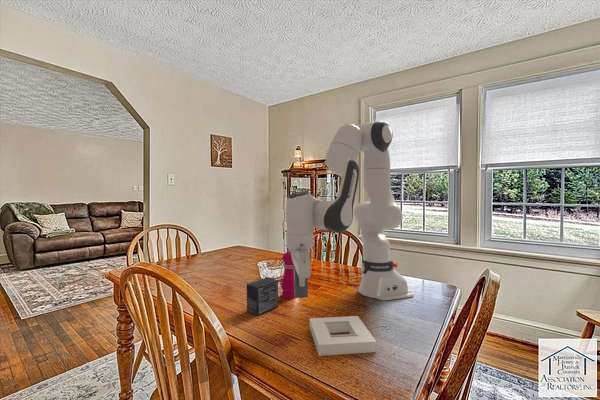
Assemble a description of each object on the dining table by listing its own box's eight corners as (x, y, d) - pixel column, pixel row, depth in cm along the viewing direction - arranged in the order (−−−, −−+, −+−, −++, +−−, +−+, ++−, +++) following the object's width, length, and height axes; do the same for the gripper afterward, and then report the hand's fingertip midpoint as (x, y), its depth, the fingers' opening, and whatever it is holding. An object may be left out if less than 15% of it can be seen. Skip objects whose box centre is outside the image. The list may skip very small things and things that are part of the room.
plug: (306, 292, 100) (305, 266, 99) (307, 297, 96) (307, 269, 95) (294, 293, 99) (293, 267, 99) (295, 298, 95) (295, 270, 95)
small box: (266, 303, 115) (266, 276, 115) (279, 307, 111) (279, 279, 111) (245, 311, 107) (245, 283, 107) (258, 316, 103) (258, 287, 103)
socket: (357, 324, 97) (357, 315, 97) (376, 352, 81) (376, 340, 81) (309, 327, 95) (309, 317, 95) (318, 355, 79) (318, 343, 79)
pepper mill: (296, 300, 118) (296, 250, 117) (278, 298, 120) (278, 249, 119) (299, 293, 125) (300, 246, 124) (283, 292, 127) (283, 246, 126)
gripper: (315, 247, 87) (315, 294, 88) (305, 235, 107) (305, 273, 108) (293, 248, 86) (294, 295, 87) (287, 236, 106) (288, 274, 107)
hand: (300, 283), depth 97 cm, fingers closed on plug, 4 cm apart
